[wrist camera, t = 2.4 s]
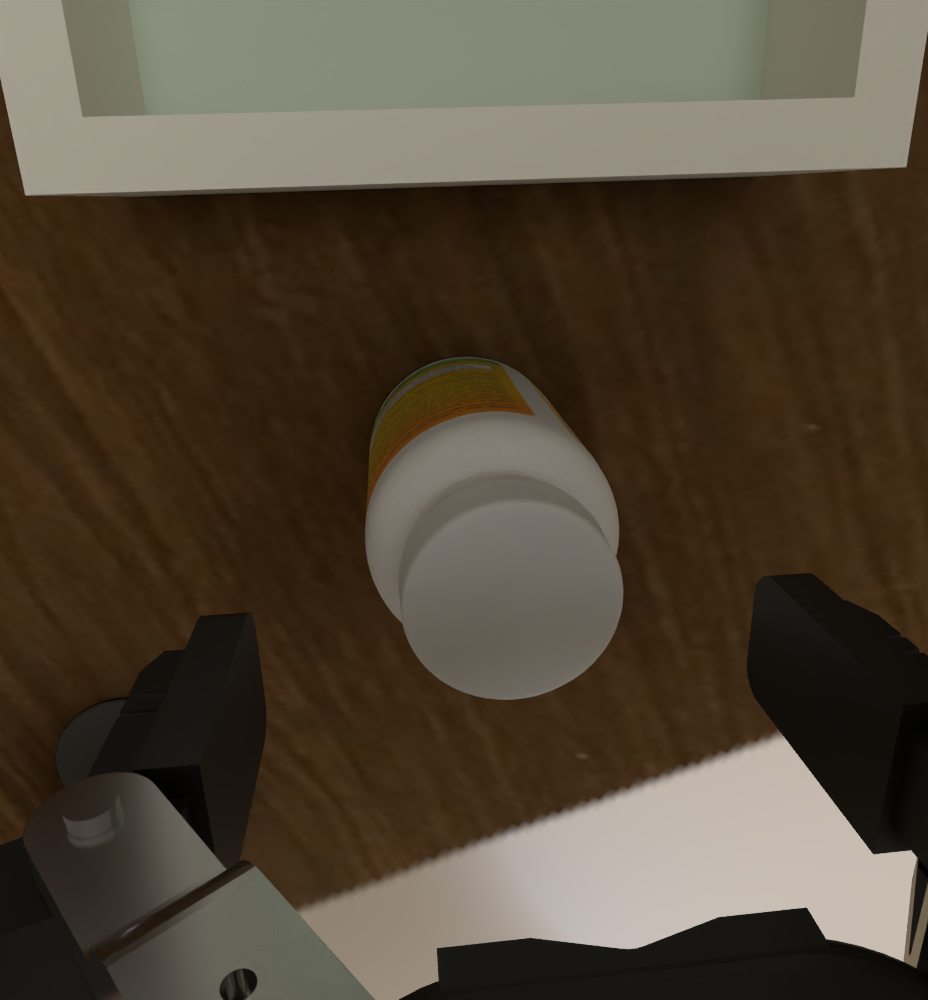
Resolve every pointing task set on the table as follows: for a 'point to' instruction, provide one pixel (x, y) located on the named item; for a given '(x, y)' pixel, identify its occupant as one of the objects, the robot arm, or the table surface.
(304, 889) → the table surface
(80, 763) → the sundae
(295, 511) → the table surface
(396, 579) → the supplement bottle
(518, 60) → the bore box
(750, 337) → the table surface
